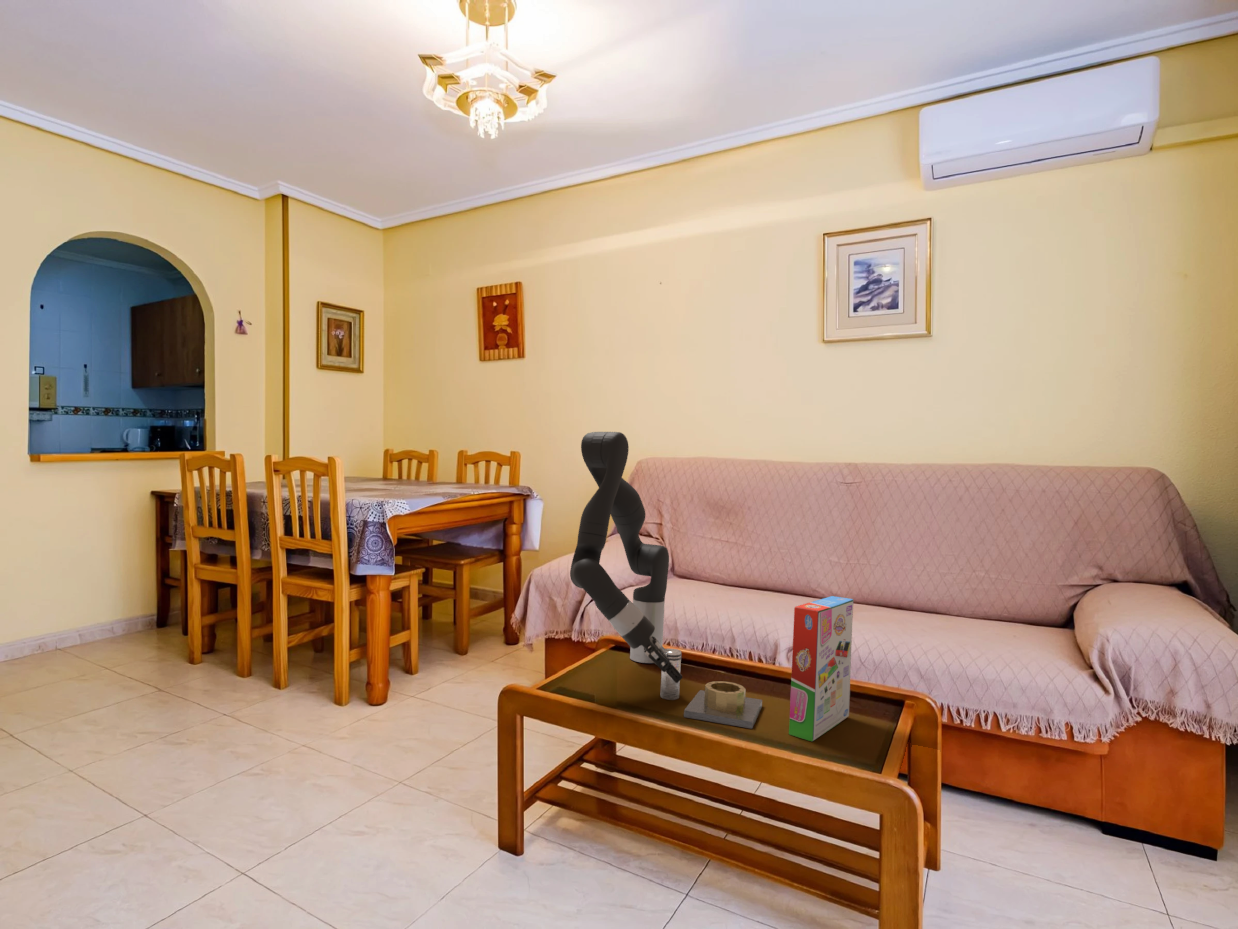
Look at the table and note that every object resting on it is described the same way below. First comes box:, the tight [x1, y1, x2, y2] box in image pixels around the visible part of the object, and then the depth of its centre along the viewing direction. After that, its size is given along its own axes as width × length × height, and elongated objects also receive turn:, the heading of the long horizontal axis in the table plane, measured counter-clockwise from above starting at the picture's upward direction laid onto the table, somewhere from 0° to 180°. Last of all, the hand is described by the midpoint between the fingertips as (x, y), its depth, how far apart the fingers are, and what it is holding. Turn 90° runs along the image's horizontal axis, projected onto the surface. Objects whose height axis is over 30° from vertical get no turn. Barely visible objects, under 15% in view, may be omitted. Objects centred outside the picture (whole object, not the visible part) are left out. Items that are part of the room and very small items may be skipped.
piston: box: [659, 648, 683, 701], centre depth 161 cm, size 5×5×11 cm
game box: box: [788, 595, 854, 742], centre depth 147 cm, size 21×6×27 cm, turn 141°
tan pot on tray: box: [683, 680, 763, 730], centre depth 153 cm, size 16×15×6 cm
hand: (678, 676), depth 161 cm, fingers closed on piston, 4 cm apart
